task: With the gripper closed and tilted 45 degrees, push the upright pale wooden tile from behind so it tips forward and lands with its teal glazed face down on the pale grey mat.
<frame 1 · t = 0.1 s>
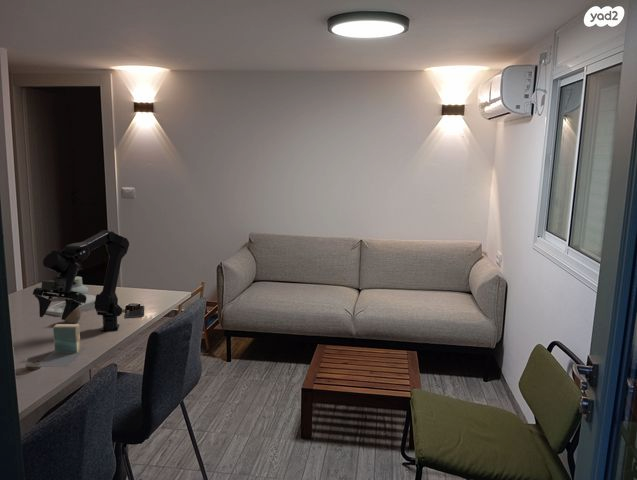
hand: (51, 318, 177), 15 cm above the table, tool tilted 35°, fingers open, 9 cm apart
ramp: (76, 310, 232), on the table
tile: (67, 351, 185), resting on mat
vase: (72, 322, 216), on the table
air freshener: (76, 297, 251), on the table
phone: (135, 313, 231), on the table
mat: (62, 357, 180), on the table
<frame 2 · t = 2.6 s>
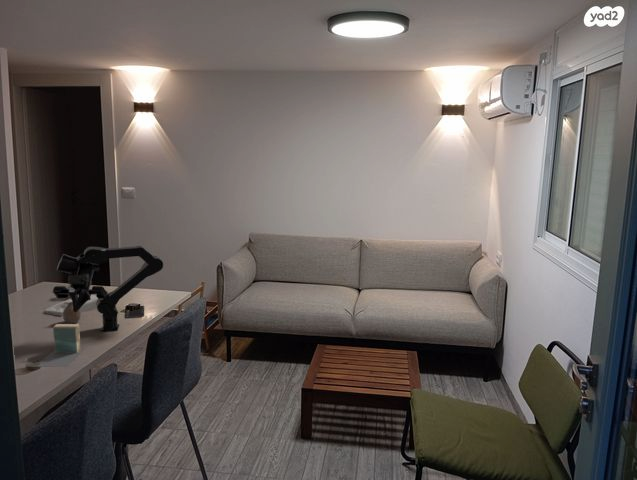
hand: (74, 311, 191), 13 cm above the table, tool tilted 45°, fingers closed
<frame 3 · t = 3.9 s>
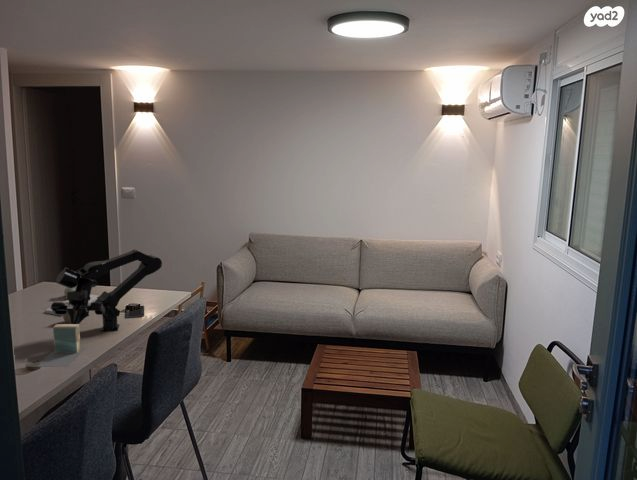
hand: (73, 328, 189), 7 cm above the table, tool tilted 45°, fingers closed
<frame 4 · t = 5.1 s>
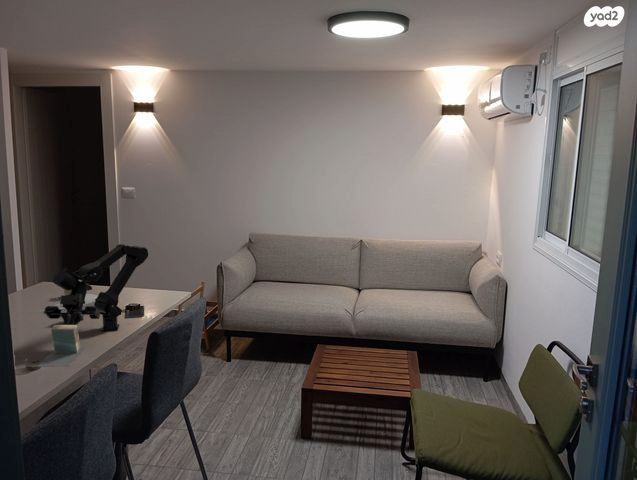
hand: (66, 333, 184), 7 cm above the table, tool tilted 45°, fingers closed
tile: (67, 350, 185), point 1 cm above the table, tilted 10°, touching mat
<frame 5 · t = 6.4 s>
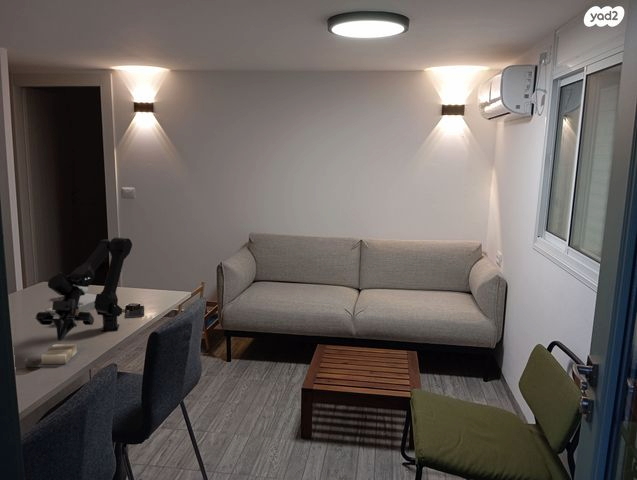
hand: (59, 340, 177), 7 cm above the table, tool tilted 45°, fingers closed
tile: (65, 348, 183), point 2 cm above the table, tilted 90°, touching mat
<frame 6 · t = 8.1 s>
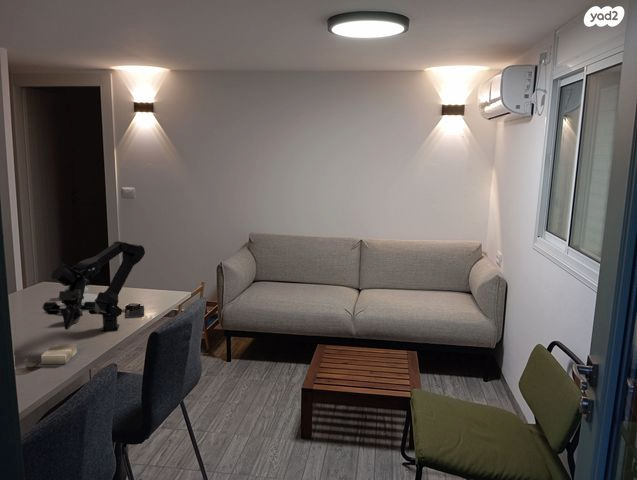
hand: (66, 329, 182), 9 cm above the table, tool tilted 45°, fingers closed
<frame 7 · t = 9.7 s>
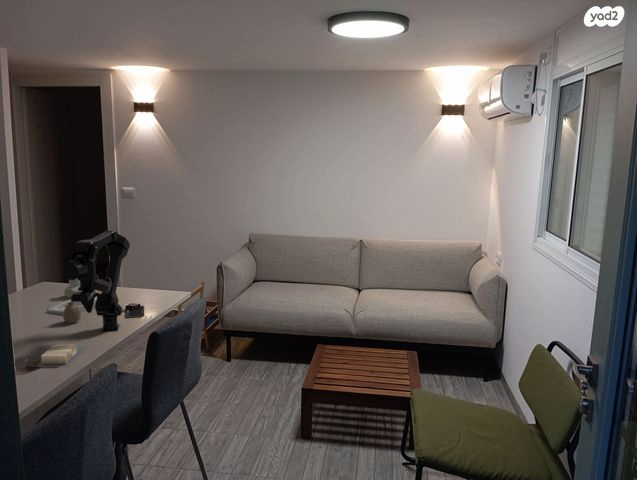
hand: (89, 312, 193), 12 cm above the table, tool pointing down, fingers closed
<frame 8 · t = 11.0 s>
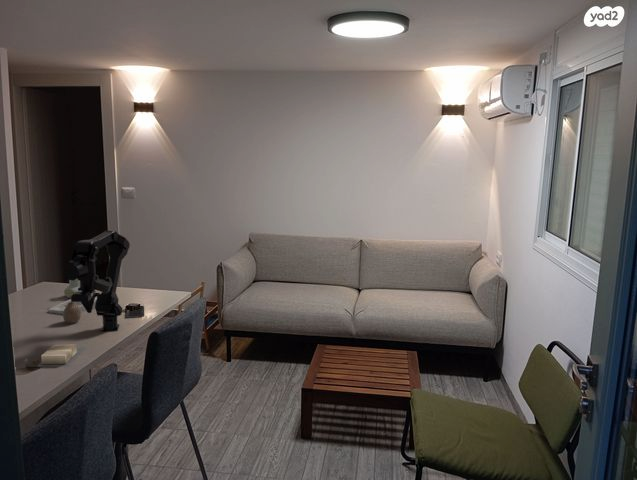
hand: (89, 312, 193), 12 cm above the table, tool pointing down, fingers closed
at the end: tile tilted 90°; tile inside the target area on the mat (0.9 cm from its centre), point 2.3 cm above the mat's base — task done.
